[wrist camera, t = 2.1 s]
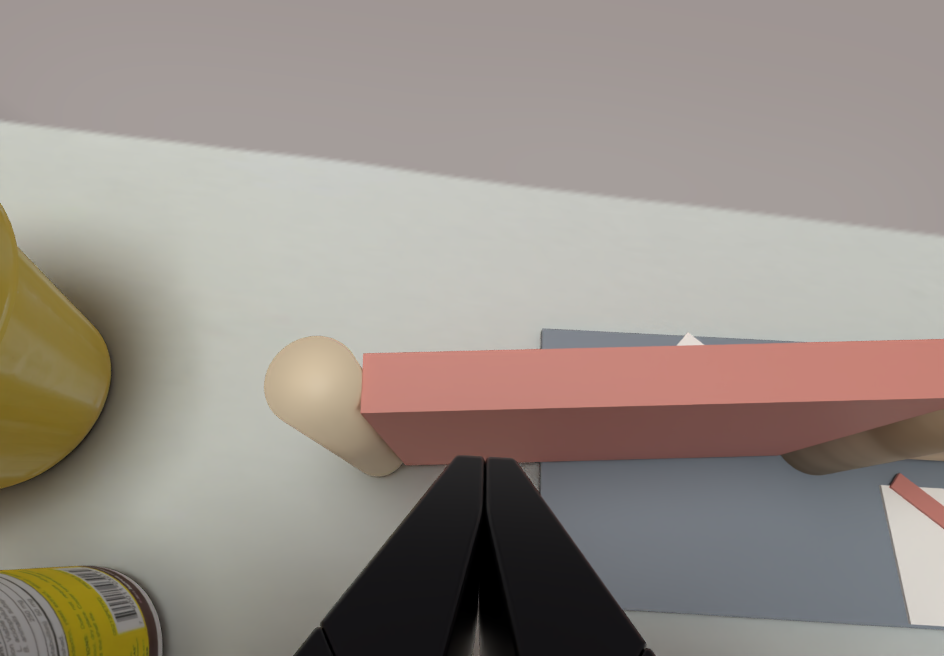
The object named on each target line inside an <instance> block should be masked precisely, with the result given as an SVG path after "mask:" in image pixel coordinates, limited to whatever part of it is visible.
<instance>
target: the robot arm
mask: <svg viewBox="0 0 944 656" xmlns="http://www.w3.org/2000/svg"><path fill="white" fill-rule="evenodd" d="M478 598H479V608H478ZM477 613H478V624H479V642H480V655H481V656H655V654H654V653H653V651H652V650H651V649H649V648H646V642H645V641H644V639H643V638H642V636H641V635H640V634H639V632H638V631H637V629H636V628H635V627H634V625H633V624H632V622H631V621H630V620H629V618H628V617H627V615H626V614H625V613H624V611H623V610H622V608H621V607H620V606H619V604H618V603H617V601H616V600H615V599H614V597H613V596H612V594H611V593H610V592H609V590H608V589H607V587H606V586H605V585H604V583H603V582H602V580H601V579H600V578H599V576H598V575H597V573H596V572H595V571H594V569H593V568H592V566H591V565H590V564H589V562H588V561H587V559H586V558H585V557H584V555H583V554H582V552H581V551H580V550H579V548H578V547H577V545H576V544H575V543H574V541H573V540H572V538H571V537H570V536H569V534H568V533H567V531H566V530H565V529H564V527H563V526H562V524H561V523H560V522H559V520H558V519H557V517H556V516H555V515H554V513H553V512H552V510H551V509H550V507H549V506H548V505H547V503H546V502H545V500H544V499H543V498H542V496H541V495H540V493H539V492H538V491H537V489H536V488H535V486H534V485H533V484H532V482H531V481H530V479H529V478H528V477H527V475H526V474H525V472H524V471H523V470H522V468H521V467H520V465H519V464H518V463H517V461H516V460H515V459H513V458H507V457H488V458H487V459H486V460H484V458H483V457H482V456H472V455H457V456H455V457H454V458H453V460H452V461H451V462H450V463H449V465H448V466H447V467H446V468H445V470H444V471H443V472H442V473H441V474H440V476H439V477H438V478H437V479H436V481H435V482H434V483H433V484H432V486H431V487H430V488H429V489H428V491H427V492H426V493H425V494H424V495H423V497H422V498H421V499H420V500H419V502H418V503H417V504H416V505H415V507H414V508H413V509H412V510H411V511H410V513H409V514H408V515H407V516H406V518H405V519H404V520H403V521H402V523H401V524H400V525H399V526H398V528H397V529H396V530H395V531H394V532H393V534H392V535H391V536H390V537H389V539H388V540H387V541H386V542H385V544H384V545H383V546H382V547H381V548H380V550H379V551H378V552H377V553H376V555H375V556H374V557H373V558H372V560H371V561H370V562H369V563H368V565H367V566H366V567H365V568H364V569H363V571H362V572H361V573H360V574H359V576H358V577H357V578H356V579H355V581H354V582H353V583H352V584H351V586H350V587H349V588H348V589H347V590H346V592H345V593H344V594H343V595H342V597H341V598H340V599H339V600H338V602H337V603H336V604H335V605H334V606H333V608H332V609H331V610H330V611H329V613H328V614H327V615H326V616H325V618H324V619H323V620H322V621H321V623H320V627H317V628H315V629H314V631H313V632H312V633H311V634H310V636H309V637H308V638H307V639H306V641H305V642H304V643H303V644H302V646H301V647H300V648H299V649H298V651H297V652H296V653H295V654H294V655H293V656H472V652H473V646H474V640H475V632H476V625H477Z"/></svg>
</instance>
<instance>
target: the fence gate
mask: <svg viewBox="0 0 944 656" xmlns="http://www.w3.org/2000/svg"><path fill="white" fill-rule="evenodd" d="M264 391H265V397H266V400H267V403H268V405H269V407H270V409H271V410H272V411H273V413H274V414H275V415H276V416H277V417H278V418H279V419H281V420H282V421H284V422H285V423H287V424H289V425H290V426H292V427H293V428H295V429H296V430H298V431H299V432H301V433H303V434H304V435H306V436H307V437H309V438H310V439H312V440H314V441H315V442H317V443H318V444H320V445H321V446H323V447H324V448H326V449H328V450H329V451H331V452H332V453H334V454H335V455H337V456H339V457H340V458H342V459H343V460H345V461H346V462H348V463H350V464H351V465H353V466H354V467H356V468H357V469H359V470H360V471H362V472H364V473H365V474H367V475H370V476H374V477H381V476H386V475H389V474H391V473H393V472H394V471H396V470H397V469H398V468H399V467H400V466H401V464H402V463H404V464H405V465H441V464H449V463H450V462H451V461H452V460H453V458H454V457H455V456H457V455H472V456H482V457H483V458H484V460H486V459H487V458H488V457H507V458H513V459H515V460H516V461H517V462H553V461H590V460H628V459H665V458H703V457H740V456H777V455H782V454H786V453H789V452H793V451H796V450H800V449H803V448H807V447H810V446H814V445H817V444H821V443H824V442H828V441H832V440H835V439H839V438H842V437H846V436H849V435H853V434H856V433H860V432H863V431H867V430H870V429H874V428H877V427H881V426H885V425H888V424H892V423H895V422H899V421H902V420H906V419H909V418H913V417H916V416H920V415H923V414H927V413H930V412H934V411H938V410H941V409H944V339H927V340H887V341H847V342H806V343H766V344H726V345H686V346H646V347H605V348H565V349H525V350H485V351H444V352H404V353H364V354H363V370H362V368H361V366H360V365H359V363H358V362H357V360H356V359H355V357H354V355H353V354H352V352H351V351H350V350H349V349H348V348H347V347H346V346H345V345H344V344H342V343H340V342H339V341H337V340H335V339H332V338H329V337H323V336H310V337H305V338H302V339H299V340H296V341H294V342H292V343H290V344H289V345H287V346H286V347H285V348H283V349H282V350H281V351H280V352H279V353H278V354H277V355H276V356H275V358H274V359H273V360H272V362H271V364H270V365H269V368H268V370H267V373H266V376H265V381H264Z"/></svg>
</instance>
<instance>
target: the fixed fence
mask: <svg viewBox="0 0 944 656" xmlns="http://www.w3.org/2000/svg"><path fill="white" fill-rule="evenodd" d="M781 456H782V457H783V459H784V460H785V461H786V462H787V463H788V464H790V465H791V466H792V467H793V468H795V469H797V470H798V471H800V472H803V473H805V474H809V475H826V474H832V473H837V472H842V471H847V470H853V469H858V468H863V467H868V466H874V465H879V464H884V463H889V462H894V461H900V460H905V459H917V460H935V461H944V409H941V410H938V411H934V412H930V413H927V414H923V415H920V416H916V417H913V418H909V419H906V420H902V421H899V422H895V423H892V424H888V425H885V426H881V427H877V428H874V429H870V430H867V431H863V432H860V433H856V434H853V435H849V436H846V437H842V438H839V439H835V440H832V441H828V442H824V443H821V444H817V445H814V446H810V447H807V448H803V449H800V450H796V451H793V452H789V453H786V454H782V455H781Z"/></svg>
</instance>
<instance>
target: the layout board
mask: <svg viewBox="0 0 944 656" xmlns="http://www.w3.org/2000/svg"><path fill="white" fill-rule="evenodd" d="M766 343H806V342H793V341H774V340H754V339H735V338H716V337H696V336H692V335H691V334H690V333H687V334H686V335H685V336H677V335H658V334H639V333H619V332H600V331H581V330H562V329H542V332H541V349H565V348H605V347H646V346H686V345H726V344H766ZM540 495H541V496H542V498H543V499H544V500H545V502H546V503H547V505H548V506H549V507H550V509H551V510H552V512H553V513H554V515H555V516H556V517H557V519H558V520H559V522H560V523H561V524H562V526H563V527H564V529H565V530H566V531H567V533H568V534H569V536H570V537H571V538H572V540H573V541H574V543H575V544H576V545H577V547H578V548H579V550H580V551H581V552H582V554H583V555H584V557H585V558H586V559H587V561H588V562H589V564H590V565H591V566H592V568H593V569H594V571H595V572H596V573H597V575H598V576H599V578H600V579H601V580H602V582H603V583H604V585H605V586H606V587H607V589H608V590H609V592H610V593H611V594H612V596H613V597H614V599H615V600H616V601H617V603H618V604H619V606H620V607H621V608H622V610H637V611H653V612H669V613H685V614H701V615H716V616H732V617H748V618H764V619H780V620H796V621H812V622H828V623H843V624H859V625H875V626H891V627H907V628H923V629H939V630H944V461H935V460H917V459H905V460H900V461H894V462H889V463H884V464H879V465H874V466H868V467H863V468H858V469H853V470H847V471H842V472H837V473H832V474H826V475H809V474H805V473H803V472H800V471H798V470H797V469H795V468H793V467H792V466H791V465H790V464H788V463H787V462H786V461H785V460H784V459H783V457H782V456H781V455H777V456H740V457H703V458H665V459H628V460H590V461H553V462H540Z"/></svg>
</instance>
